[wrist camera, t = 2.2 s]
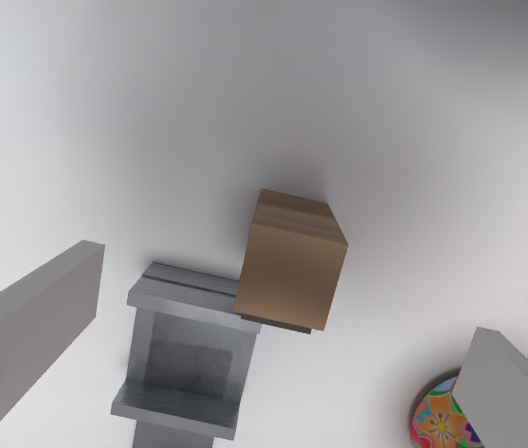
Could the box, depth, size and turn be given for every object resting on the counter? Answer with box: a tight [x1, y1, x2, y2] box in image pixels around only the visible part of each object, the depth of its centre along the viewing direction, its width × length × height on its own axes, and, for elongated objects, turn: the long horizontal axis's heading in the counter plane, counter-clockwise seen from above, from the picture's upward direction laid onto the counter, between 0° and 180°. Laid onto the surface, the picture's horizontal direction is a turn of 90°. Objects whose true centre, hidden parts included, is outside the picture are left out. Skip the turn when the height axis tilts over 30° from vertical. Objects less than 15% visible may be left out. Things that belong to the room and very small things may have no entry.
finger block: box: [233, 189, 348, 334], centre depth 22 cm, size 5×4×8 cm
